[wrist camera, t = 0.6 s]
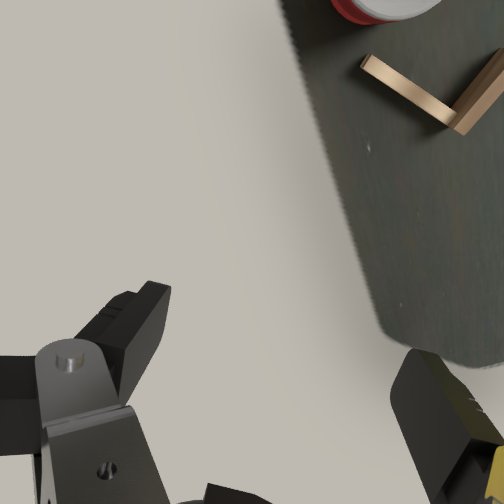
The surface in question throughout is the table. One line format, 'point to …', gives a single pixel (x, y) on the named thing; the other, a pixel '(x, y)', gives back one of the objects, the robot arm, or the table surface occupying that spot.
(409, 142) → the table surface
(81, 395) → the robot arm
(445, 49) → the table surface
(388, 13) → the canned food
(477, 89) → the bar
